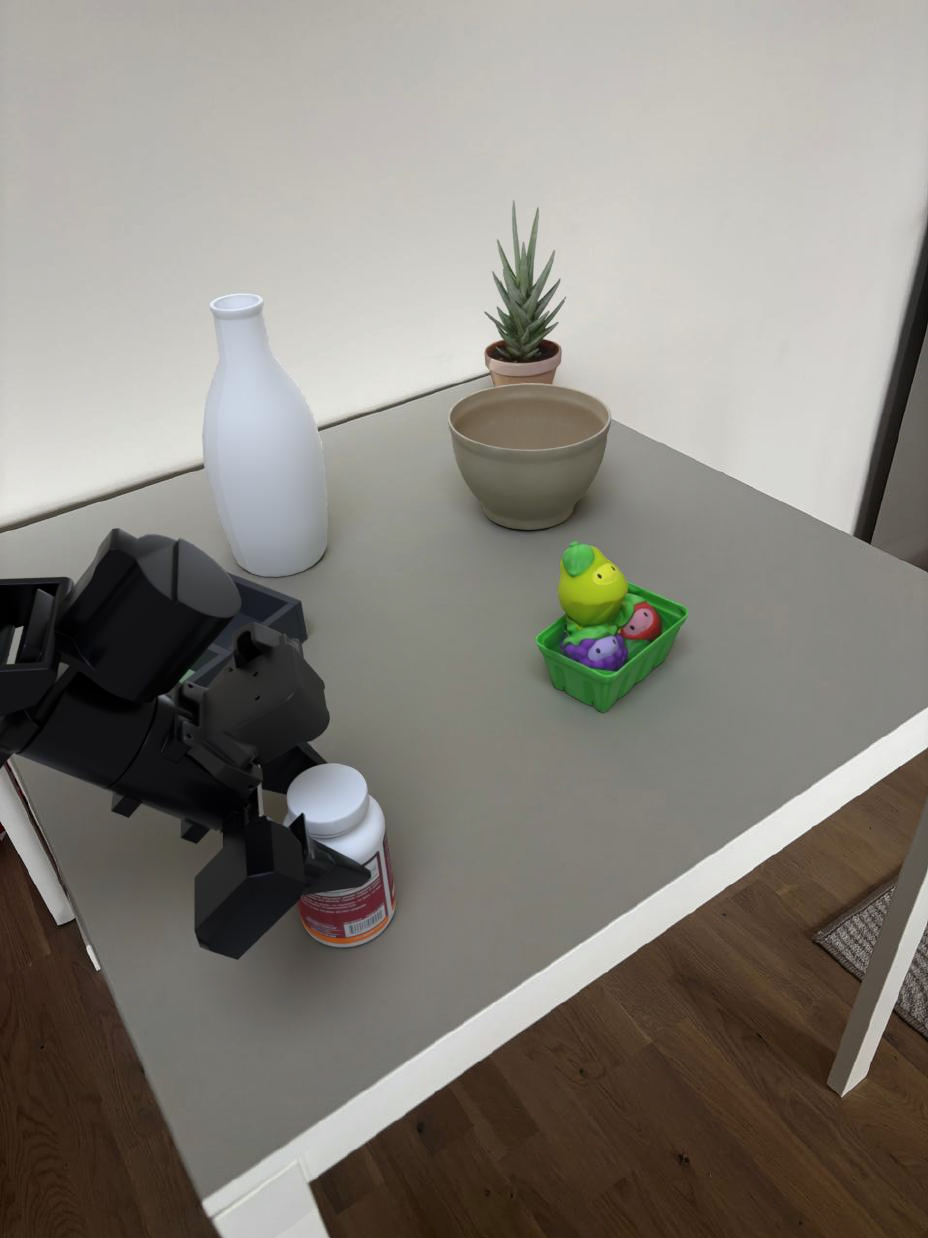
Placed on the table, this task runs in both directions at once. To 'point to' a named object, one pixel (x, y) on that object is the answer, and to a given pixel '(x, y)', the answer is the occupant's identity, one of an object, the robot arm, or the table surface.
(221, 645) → the tray
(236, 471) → the bottle
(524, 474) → the planter bowl
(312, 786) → the pill bottle
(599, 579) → the fruit basket
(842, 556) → the table surface
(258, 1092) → the table surface
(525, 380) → the potted plant
